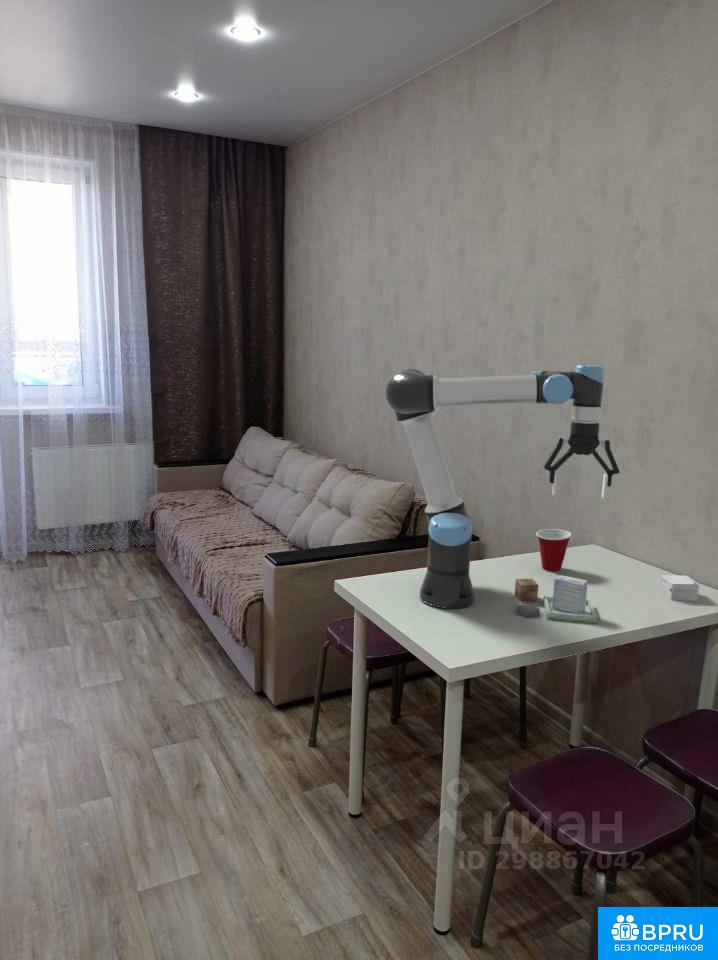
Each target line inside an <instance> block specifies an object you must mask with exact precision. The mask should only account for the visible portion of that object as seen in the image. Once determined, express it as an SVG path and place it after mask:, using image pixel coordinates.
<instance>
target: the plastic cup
mask: <svg viewBox="0 0 718 960" xmlns="http://www.w3.org/2000/svg"><path fill="white" fill-rule="evenodd" d="M535 535H536V536H537V540H538V543H539V553H540V561H541V568H542V569H543V570H544V571H548V572H555V573H556V572H560V571H561V569H562V566H563V563H564V560H565V557H566V556H565V555H566V553H567V548H568V544H569V541H570V538H571V536H572V533H571V532H570V531H568V530H564V529H558V528H548V529H547V528H546V529H540V530H538V531H536V534H535Z"/></svg>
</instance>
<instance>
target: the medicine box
mask: <svg viewBox="0 0 718 960" xmlns="http://www.w3.org/2000/svg"><path fill="white" fill-rule="evenodd" d="M588 583H589V581H588V580H586V579H581V578H578V577H577V578H576V577H572V576H568V575H567V576H566V575H562V574H559V575H558V576H556V578H555V579H553V592H552V596H553V603H552V609H556V610H560V611H565V612H569V613H573V614H582V613H583V612H584V611H585V608H586V599H587V593H588Z"/></svg>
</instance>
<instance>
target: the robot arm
mask: <svg viewBox="0 0 718 960" xmlns="http://www.w3.org/2000/svg"><path fill="white" fill-rule="evenodd" d="M604 371H605V370H604V368H603V366H602V365H597V364H578V365H576V367H575V370H574V371H559V370H558V371H557V370H555V371H554V370H533V371H532V372H531V374H524V375H523V374H522V375H498V376H497V375H496V376H473V377H470V376H469V377H450V378H449V377H447V378H444V377H443V378H440V377H438V376H436V375H435V374H425V373H423V372H422V371H421V370H418V369H414V368H408V369H403V370H400V371H398V372H397V373H396V374H395V375H394V376H392V377H391V378H390V379H389V381H388V382H387V385H386V388H385V399H386V402H387V404H388V405H389V407H390V408H391V409H392V410H393V411H394V414H395V416H396V420H397V423H399V424H401V425H402V426H403V427H404V429H405V431H406V435H407V438H408V442H409V445H410V448H411V451H412V455H413V458H414V462H415V465H416V468H417V472H418V475H419V479H420V482H421V484H422V489H423V491H424V495H425V498H426V501H427V505H426V507H425V509H424V513H425V516H426V520H427V523H428V528H427V529H428V531H427V532H428V543H427V562H426V563H427V567H426V573H425V575H424V578H423V581H422V584H421V586H420V588H419V599H420V598H421V599H422V600H423V601H425V602H427V603H429V604H432V605H435V606H439V607H445V608H444V609H447V608H456V609H463V608H467V607H469V606H472V605H473V604H474V602H475V590H474V587H473V583H472V580H471V577H470V567H471V565H470V564H471V550H472V549H471V547H472V535H473V525H472V520H471V517H470V516H469V514H468V513H467V508H466V505H465V502H464V499H463V498H462V497H460V496H458V495H457V493H456V490H455V486H454V483H453V480H452V477H451V476H452V475H451V474H450V471H449V470H450V469H449V466H448V463H447V460H446V456H445V453H444V449H443V446H442V442H441V439H440V435H439V432H438V428H437V426H436V423H435V422H436V421H435V419H434V417H435V414H436V412H437V411H438V410H439V408H452V407H453V408H454V407H455V408H456V407H480V406H499V405H500V406H502V405H503V406H506V405H507V406H508V405H509V406H511V405H526V404H527V405H529V404H530V405H531V404H532V405H533V404H552V405H562V404H565V403H566V402H567V401H569V400H572V411H571V420H572V421H571V422H570V430H569V431H570V433H569V438H564V437H562V436H559V437H558V438H557V442H556V445H555V447H554V448H553V450H552V452H551V454H550V455H549V456H548V458H547V460H546V462H545V463H544V464H543V468H544V470H546V471H548V472H549V479H548V480H549V484H552V492H551V493H552V496H557V486H558V473H559V472H558V471H557V470H559V469H560V467H561V466H562V465H563V464H564V463H565V462H566V461H567V460H569V458H570V457H571V456H573V455H574V454H575V455H578V456H581V455H584V456H589V455H592V456H593V457H594V458H595V459H596V461H597V462H598V464H600V466H601V467H602V468H603V470H604V471H605V473H603V478H602V487H601V488H602V489H601V498H602V499H604V500H606V499H607V491H608V487H611V486H612V478H613V476H614V475H616V474H620V469H619V466H618V465H617V462H616V460H615V457H614V455H613V452H612V450H611V442H610V440H609V439H608V438H605V439H602V440H600V439H599V433H600V423H599V421H600V420H601V413H602V412H601V411H602V398H603V389H604V384H605V383H604V379H605V378H604V375H605V373H604ZM566 444H568V445H569V448H568V449H567V451H566V452H564V454H563V455H561V457H559V458H558V459H557V460H556V462H554V461H555V459H556V457H557V456H558V454H559V453H560V451H561V449H562V448H563V447H564V446H565V445H566ZM599 446H601V447H602V448H603V449H604V450H605V454H606V456H607V459H608V461H609V463H610V465H611V468H612V469H610V467H609V466H608V465H607V464H606V462H605V461H604V459H602V457H601V456H600V455H599V453H598V452H597V450H596V449H597V448H598V447H599ZM552 464H553V465H552ZM421 599H420V600H421ZM439 607H438V608H439Z"/></svg>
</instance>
